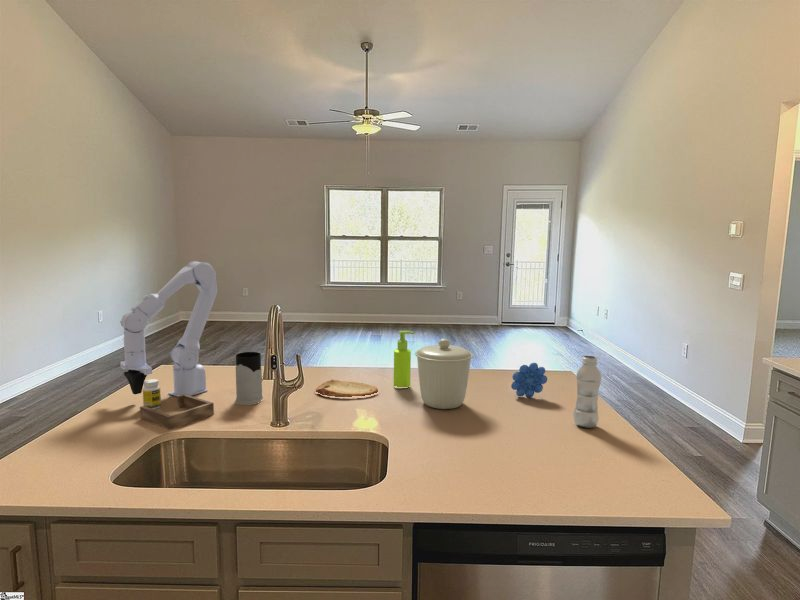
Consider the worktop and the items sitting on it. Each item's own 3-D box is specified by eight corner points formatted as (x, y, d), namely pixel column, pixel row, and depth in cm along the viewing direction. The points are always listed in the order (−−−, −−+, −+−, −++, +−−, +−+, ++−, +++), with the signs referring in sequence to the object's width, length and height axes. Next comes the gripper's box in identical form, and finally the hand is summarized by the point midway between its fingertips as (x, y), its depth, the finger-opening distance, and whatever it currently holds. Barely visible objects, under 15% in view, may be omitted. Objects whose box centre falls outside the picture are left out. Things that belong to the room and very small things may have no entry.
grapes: (543, 394, 167) (545, 359, 166) (547, 400, 161) (549, 365, 159) (509, 392, 169) (510, 358, 167) (511, 399, 162) (513, 363, 160)
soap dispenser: (413, 389, 171) (414, 332, 168) (393, 389, 171) (394, 332, 168) (413, 384, 177) (413, 329, 174) (393, 384, 177) (394, 329, 174)
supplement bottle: (153, 411, 147) (152, 383, 146) (140, 409, 148) (138, 382, 147) (164, 405, 152) (163, 379, 151) (151, 404, 153) (149, 378, 151)
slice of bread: (383, 395, 165) (383, 384, 165) (338, 406, 154) (338, 395, 153) (353, 383, 179) (353, 372, 179) (309, 392, 168) (309, 381, 167)
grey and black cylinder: (229, 402, 155) (227, 356, 153) (257, 390, 168) (256, 347, 166) (252, 406, 152) (250, 359, 150) (279, 393, 165) (278, 349, 163)
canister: (443, 418, 144) (445, 348, 141) (402, 402, 157) (403, 337, 154) (483, 405, 156) (485, 340, 153) (441, 391, 169) (443, 331, 166)
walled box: (185, 405, 152) (184, 394, 152) (213, 414, 145) (213, 402, 144) (140, 418, 141) (140, 406, 140) (169, 429, 133) (168, 417, 133)
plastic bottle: (579, 419, 144) (583, 353, 142) (602, 426, 139) (606, 357, 137) (568, 425, 140) (572, 356, 137) (592, 432, 135) (596, 361, 132)
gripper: (109, 349, 152) (111, 392, 154) (135, 356, 145) (137, 401, 146) (132, 345, 158) (134, 386, 160) (157, 352, 151) (159, 395, 152)
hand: (137, 393), depth 154 cm, fingers closed
